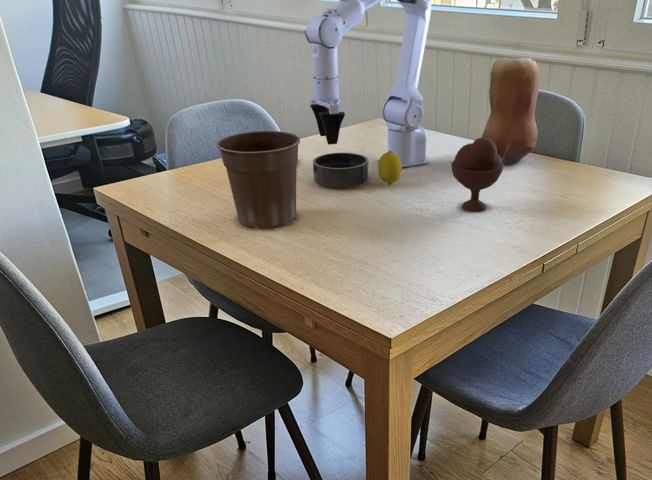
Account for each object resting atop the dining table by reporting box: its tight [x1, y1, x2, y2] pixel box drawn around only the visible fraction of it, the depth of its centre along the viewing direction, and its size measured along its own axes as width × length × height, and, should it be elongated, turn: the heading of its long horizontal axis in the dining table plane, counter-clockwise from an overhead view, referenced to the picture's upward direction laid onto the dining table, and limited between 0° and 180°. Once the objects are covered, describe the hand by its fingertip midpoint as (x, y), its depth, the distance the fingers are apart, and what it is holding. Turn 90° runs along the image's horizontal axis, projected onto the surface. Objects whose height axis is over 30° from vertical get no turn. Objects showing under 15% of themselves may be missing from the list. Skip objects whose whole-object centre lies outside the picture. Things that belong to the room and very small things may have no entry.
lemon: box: [377, 150, 403, 186], centre depth 145 cm, size 6×6×8 cm
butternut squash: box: [483, 57, 540, 164], centre depth 155 cm, size 14×13×25 cm
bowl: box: [312, 152, 370, 189], centre depth 149 cm, size 13×13×5 cm
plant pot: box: [216, 130, 301, 229], centre depth 126 cm, size 16×16×16 cm
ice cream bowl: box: [450, 137, 505, 213], centre depth 130 cm, size 11×11×15 cm
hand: (328, 139), depth 145 cm, fingers open, 7 cm apart
